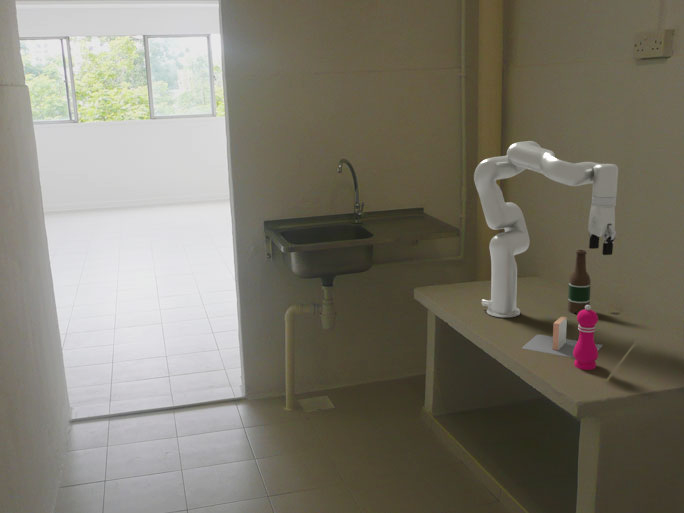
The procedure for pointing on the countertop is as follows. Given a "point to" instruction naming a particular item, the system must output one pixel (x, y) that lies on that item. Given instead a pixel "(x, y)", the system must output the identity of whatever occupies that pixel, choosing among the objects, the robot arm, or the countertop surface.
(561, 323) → the tile
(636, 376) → the countertop surface
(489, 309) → the robot arm
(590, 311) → the pepper mill
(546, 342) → the mat
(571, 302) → the beer bottle
